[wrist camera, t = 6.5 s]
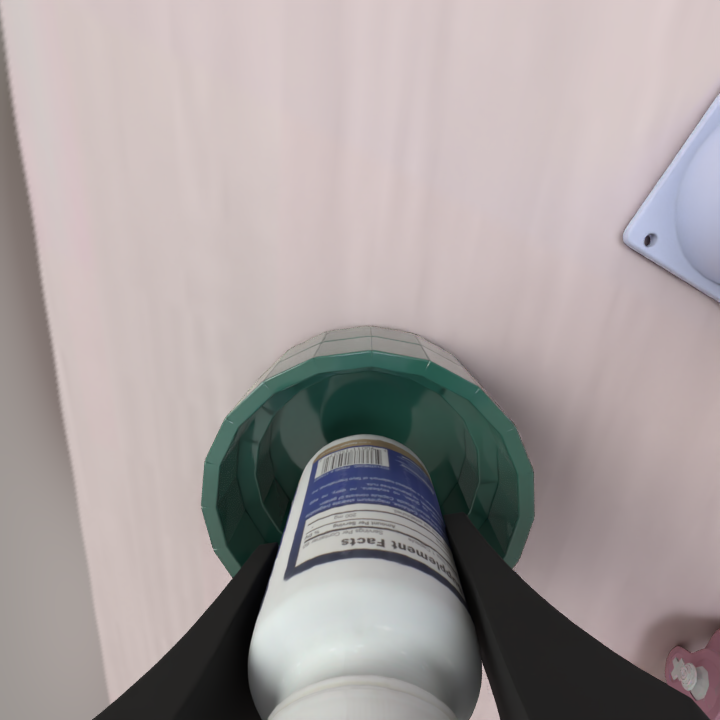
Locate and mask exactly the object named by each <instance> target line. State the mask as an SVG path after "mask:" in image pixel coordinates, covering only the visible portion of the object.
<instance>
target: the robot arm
mask: <svg viewBox="0 0 720 720" xmlns="http://www.w3.org/2000/svg"><path fill="white" fill-rule="evenodd" d="M647 235H649V236H650V240H651V241H650V243H649V245H647V246H646V245H645V244H644V240H645V237H646V236H647ZM623 240H624V243H625V244H626V245H627V246H628V247H630V248H632V249H633V250H635V251H637V252H638V253H640V254H641V255H643V256H645V257H646V258H648V259H650V260H651V261H653V262H654V263H656V264H658V265H659V266H661V267H663V268H664V269H666V270H667V271H669V272H671V273H672V274H674V275H676V276H677V277H679V278H680V279H682V280H684V281H685V282H687V283H689V284H690V285H692V286H693V287H695V288H697V289H698V290H700V291H702V292H703V293H705V294H706V295H708V296H710V297H711V298H713V299H715V300H716V301H718V302H719V303H720V93H719V94H718V96H717V97H716V99H715V100H714V101H713V103H712V104H711V106H710V107H709V109H708V110H707V112H706V113H705V114H704V116H703V117H702V119H701V120H700V122H699V123H698V125H697V126H696V127H695V129H694V130H693V132H692V133H691V135H690V136H689V138H688V139H687V140H686V142H685V143H684V145H683V146H682V148H681V149H680V151H679V152H678V153H677V155H676V156H675V158H674V159H673V161H672V162H671V164H670V165H669V166H668V168H667V169H666V171H665V172H664V174H663V175H662V177H661V178H660V180H659V181H658V182H657V184H656V185H655V187H654V188H653V190H652V191H651V193H650V194H649V195H648V197H647V198H646V200H645V201H644V203H643V204H642V206H641V207H640V208H639V210H638V211H637V213H636V214H635V216H634V217H633V219H632V220H631V221H630V223H629V224H628V226H627V227H626V229H625V231H624V233H623ZM443 516H444V522H445V528H446V532H447V535H448V539H449V542H450V546H451V549H452V553H453V556H454V559H455V562H456V566H457V569H458V573H459V576H460V579H461V583H462V586H463V590H464V593H465V596H466V600H467V603H468V606H469V609H470V612H471V616H472V619H473V622H474V624H475V630H476V635H477V640H478V644H479V648H480V654H481V660H482V663H483V666H484V669H485V672H486V674H487V677H488V680H489V683H490V686H491V689H492V692H493V695H494V699H495V702H496V705H497V709H498V712H499V716H500V720H710V718H709V717H708V716H707V715H706V714H705V713H704V712H703V711H702V709H701V708H700V707H699V706H698V705H697V704H696V703H695V702H694V701H693V699H692V698H690V697H688V696H687V695H685V694H683V693H681V692H680V691H678V690H676V689H674V688H673V687H671V686H669V685H667V684H666V683H664V682H662V681H660V680H659V679H657V678H655V677H654V676H652V675H650V674H648V673H647V672H645V671H643V670H641V669H640V668H638V667H636V666H635V665H633V664H632V663H630V662H629V661H627V660H626V659H624V658H623V657H621V656H619V655H618V654H616V653H615V652H613V651H612V650H610V649H609V648H608V647H606V646H605V645H603V644H602V643H601V642H599V641H598V640H596V639H595V638H594V637H592V636H591V635H589V634H588V633H587V632H585V631H584V630H582V629H581V628H580V627H578V626H577V625H575V624H574V623H573V622H572V621H570V620H569V619H568V618H567V617H565V616H564V615H563V614H562V613H560V612H559V611H558V610H556V609H555V608H554V607H553V606H552V605H551V604H549V603H548V602H547V601H546V600H545V599H543V598H542V597H541V596H540V595H539V594H538V593H537V592H536V591H534V590H533V589H532V588H531V587H530V586H529V585H528V584H527V583H526V582H525V581H524V580H523V579H522V578H521V577H520V576H519V575H518V574H517V573H516V572H515V571H514V570H513V569H512V568H511V567H510V566H509V565H508V564H507V563H506V562H505V561H504V560H503V559H502V558H501V557H500V556H499V555H498V553H497V552H496V551H495V550H494V549H493V548H492V547H491V546H490V545H489V543H488V542H487V541H486V540H485V539H484V537H483V536H482V535H481V534H480V532H479V531H478V530H477V529H476V527H475V526H474V525H473V523H472V522H471V520H470V519H469V517H468V516H467V514H465V513H464V512H459V513H453V514H447V515H443ZM278 549H279V546H278V543H277V542H274V543H268V544H262V545H259V546H258V547H257V548H256V549H255V551H254V552H253V553H252V554H251V556H250V557H249V558H248V560H247V561H246V562H245V563H244V565H243V566H242V567H241V569H240V570H239V571H238V572H237V574H236V575H235V576H234V577H233V579H232V580H231V581H230V582H229V584H228V585H227V586H226V587H225V589H224V590H223V591H222V592H221V594H220V595H219V596H218V597H217V599H216V600H215V601H214V602H213V603H212V604H211V606H210V607H209V608H208V609H207V610H206V611H205V613H204V614H203V615H202V616H201V617H200V618H199V619H198V621H197V622H196V623H195V624H194V625H193V626H192V627H191V629H190V630H189V631H188V632H187V633H186V634H185V635H184V636H183V637H182V638H181V639H180V640H179V641H178V642H177V644H176V645H175V646H174V647H173V648H172V649H171V650H170V651H169V652H168V653H167V654H166V655H165V656H164V657H163V658H162V659H161V660H160V661H159V662H158V663H157V664H155V665H154V666H153V667H152V668H151V669H150V670H149V671H148V672H147V673H146V674H145V675H143V676H142V677H141V678H140V679H139V680H138V681H137V682H136V683H135V684H134V685H132V686H131V687H130V688H129V689H128V690H127V691H126V692H125V693H124V694H122V695H121V696H120V697H119V698H118V699H117V700H116V701H114V702H113V703H112V704H111V705H110V706H108V707H107V708H106V709H105V710H104V711H103V712H101V713H100V714H99V715H98V716H96V717H95V718H94V719H92V720H262V719H261V717H260V715H259V713H258V711H257V709H256V707H255V704H254V701H253V698H252V695H251V691H250V687H249V681H248V655H249V648H250V643H251V639H252V635H253V631H254V627H255V623H256V619H257V616H258V613H259V610H260V607H261V603H262V600H263V597H264V594H265V591H266V588H267V585H268V581H269V578H270V575H271V572H272V568H273V565H274V562H275V559H276V555H277V552H278Z"/></svg>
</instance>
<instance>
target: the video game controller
mask: <svg viewBox="0 0 720 720" xmlns="http://www.w3.org/2000/svg"><path fill="white" fill-rule="evenodd" d="M665 677H666V681H667V684H668V685H669V686H671V687H673V688H674V689H676V690H678V691H680V692H681V693H683V694H685V695H687V696H688V697H690V698H692V699H693V701H694V702H695V703H696V704H697V705H698V706H699V707H700V708H701V709H702V711H703V712H704V713H705V714H706V715H707V716H708V717H709V718H710V720H720V629H718V630H717V631H716V632H715V633H714V635H713V636H712V637H711V639H710V640H709V642H708V644H707V646H706V647H705V649H701V650H699V651H696V652H693V653H691V652H689V651H688V650H686V649H684V648H682V647H680V646H677V647H675V648H673V649H672V650H671V651H670V653H669V655H668V658H667V660H666V667H665Z"/></svg>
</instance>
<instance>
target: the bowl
mask: <svg viewBox="0 0 720 720" xmlns="http://www.w3.org/2000/svg"><path fill="white" fill-rule="evenodd" d="M360 434H371V435H378V436H383V437H386V438H389V439H392V440H395V441H397V442H399V443H401V444H403V445H404V446H406V447H407V448H409V449H410V450H411V451H412V452H413V453H415V454H416V455H417V456H418V458H419V459H420V460H421V461H422V463H423V464H424V466H425V468H426V469H427V471H428V473H429V475H430V478H431V481H432V485H433V487H434V490H435V493H436V496H437V500H438V503H439V506H440V510H441V514H442V517H443V520H444V516H443V515H447V514H453V513H459V512H464V513H465V514H467V516H468V517H469V519H470V520H471V522H472V523H473V525H474V526H475V527H476V529H477V530H478V531H479V532H480V534H481V535H482V536H483V537H484V539H485V540H486V541H487V542H488V543H489V545H490V546H491V547H492V548H493V549H494V550H495V551H496V552H497V553H498V555H499V556H500V557H501V558H502V559H503V560H504V561H505V562H506V563H507V564H508V565H509V566H510V567H511V568H512V569H513V567H514V566H515V565H516V564H517V562H518V561H519V559H520V557H521V554H522V551H523V549H524V546H525V543H526V540H527V537H528V535H529V532H530V529H531V526H532V523H533V521H534V516H535V512H534V472H533V467H532V465H531V462H530V460H529V458H528V455H527V453H526V450H525V448H524V445H523V443H522V440H521V438H520V435H519V433H518V431H517V428H516V426H515V425H514V423H513V422H512V421H511V420H510V419H509V417H508V416H507V415H506V414H505V413H504V412H503V411H502V409H501V408H500V407H499V406H498V405H497V404H496V402H495V401H494V400H493V399H492V398H491V397H490V396H489V394H488V393H487V392H486V391H485V390H484V389H483V387H482V386H481V385H480V384H479V383H478V382H477V381H476V380H475V378H474V377H473V376H472V375H471V374H470V373H469V372H468V371H467V370H466V369H465V368H464V367H463V365H462V364H461V363H460V362H459V361H458V360H457V359H456V358H455V357H454V356H453V355H451V353H449V352H447V351H446V350H444V349H442V348H440V347H438V346H436V345H434V344H433V343H431V342H429V341H427V340H425V339H423V338H422V337H420V336H418V335H416V334H413V333H409V332H403V331H398V330H392V329H387V328H381V327H376V326H371V327H370V326H364V327H357V328H349V329H341V330H333V331H329V332H325V333H322V334H320V335H318V336H316V337H314V338H312V339H310V340H308V341H306V342H304V343H301V344H299V345H297V346H295V347H293V348H291V349H290V350H288V351H287V352H286V353H285V354H284V355H283V356H282V357H281V358H280V359H279V360H278V361H277V362H276V363H275V364H273V365H272V366H271V367H270V368H269V369H268V370H267V371H266V372H265V373H264V374H263V375H262V376H261V377H260V378H259V379H258V381H257V382H256V383H255V384H254V385H253V386H252V387H251V389H250V390H249V391H248V392H247V393H246V394H245V395H244V397H243V398H242V399H241V400H240V401H239V402H238V403H237V405H236V406H235V407H234V408H233V409H232V410H231V411H230V413H229V414H228V415H227V417H226V418H225V419H224V421H223V423H222V425H221V427H220V430H219V432H218V434H217V436H216V438H215V440H214V442H213V444H212V446H211V448H210V450H209V452H208V455H207V457H206V459H205V462H204V474H203V487H202V499H201V506H202V508H201V509H202V512H203V516H204V519H205V523H206V526H207V530H208V533H209V537H210V540H211V544H212V547H213V549H214V552H215V553H216V555H217V556H218V558H219V559H220V561H221V562H222V564H223V565H224V566H225V568H226V569H227V571H228V572H229V574H230V575H231V576H232V578H233V577H234V576H235V575H236V574H237V572H238V571H239V570H240V569H241V567H242V566H243V565H244V563H245V562H246V561H247V560H248V558H249V557H250V556H251V554H252V553H253V552H254V551H255V549H256V548H257V547H258V546H259V545H262V544H268V543H274V542H277V543H278V546H279V545H280V542H281V539H282V535H283V532H284V529H285V526H286V522H287V519H288V515H289V512H290V509H291V505H292V502H293V499H294V495H295V492H296V489H297V487H298V483H299V480H300V478H301V476H302V473H303V471H304V469H305V467H306V466H307V464H308V463H309V461H310V460H311V459H312V458H313V456H314V455H315V454H316V453H317V452H318V451H319V450H320V449H321V448H323V447H324V446H326V445H328V444H329V443H331V442H333V441H335V440H338V439H341V438H344V437H348V436H353V435H360ZM444 524H445V522H444Z"/></svg>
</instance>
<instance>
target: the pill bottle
mask: <svg viewBox="0 0 720 720" xmlns="http://www.w3.org/2000/svg"><path fill="white" fill-rule="evenodd" d="M481 680H482V661H481V654H480V648H479V644H478V640H477V635H476V630H475V624H474V622H473V619H472V616H471V612H470V609H469V606H468V603H467V600H466V596H465V593H464V590H463V586H462V583H461V579H460V576H459V573H458V569H457V566H456V562H455V559H454V556H453V553H452V549H451V546H450V542H449V539H448V535H447V532H446V528H445V524H444V520H443V517H442V514H441V510H440V506H439V503H438V500H437V496H436V493H435V490H434V487H433V485H432V481H431V478H430V475H429V473H428V471H427V469H426V468H425V466H424V464H423V463H422V461H421V460H420V459H419V458H418V456H417V455H416V454H415V453H413V452H412V451H411V450H410V449H409V448H407V447H406V446H404V445H403V444H401V443H399V442H397V441H395V440H392V439H389V438H386V437H383V436H378V435H371V434H360V435H353V436H348V437H344V438H341V439H338V440H335V441H333V442H331V443H329V444H328V445H326V446H324V447H323V448H321V449H320V450H319V451H318V452H317V453H316V454H315V455H314V456H313V458H312V459H311V460H310V461H309V463H308V464H307V466H306V467H305V469H304V471H303V473H302V476H301V478H300V480H299V483H298V487H297V489H296V492H295V495H294V499H293V502H292V505H291V509H290V512H289V515H288V519H287V522H286V526H285V529H284V532H283V535H282V539H281V542H280V545H279V549H278V552H277V555H276V559H275V562H274V565H273V568H272V572H271V575H270V578H269V581H268V585H267V588H266V591H265V594H264V597H263V600H262V603H261V607H260V610H259V613H258V616H257V619H256V623H255V627H254V631H253V635H252V639H251V643H250V648H249V655H248V681H249V687H250V691H251V695H252V698H253V701H254V704H255V707H256V709H257V711H258V713H259V715H260V717H261V719H262V720H469V719H470V717H471V715H472V713H473V711H474V709H475V706H476V703H477V700H478V697H479V693H480V688H481Z"/></svg>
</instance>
